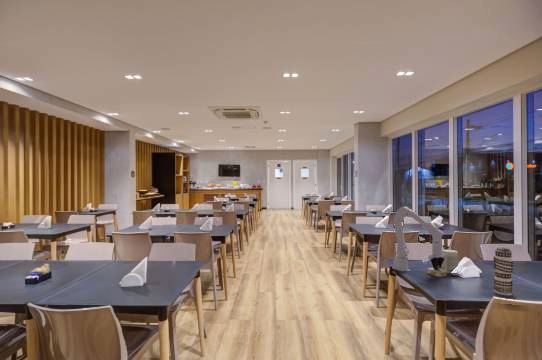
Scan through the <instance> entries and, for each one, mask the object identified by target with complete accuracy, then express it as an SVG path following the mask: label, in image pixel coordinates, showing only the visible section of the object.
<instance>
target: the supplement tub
mask: <svg viewBox="0 0 542 360" xmlns="http://www.w3.org/2000/svg"><path fill="white" fill-rule="evenodd" d="M458 252H459V251H457V250H454V249H442V254H446V257H442V258H444V261H443V263H442V265H441V267H442V268H441V269H442V270H446V271H447V274H452V273H451V272H452V271H453V270H454V269H455V268H456V267H457V266H458V267H459V253H458Z"/></svg>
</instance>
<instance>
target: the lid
mask: <svg viewBox="0 0 542 360" xmlns="http://www.w3.org/2000/svg"><path fill="white" fill-rule="evenodd" d="M426 270H427V271H428V270H430V271H434V272H437V273H444V272H447V271H446V270H442V268H441V269H440V266H439V265H437V270H435V269H433V267H427V268H426Z"/></svg>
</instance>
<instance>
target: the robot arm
mask: <svg viewBox="0 0 542 360" xmlns="http://www.w3.org/2000/svg"><path fill="white" fill-rule="evenodd" d="M405 217H409V218H412V219H413V220H415V221H416V222H418V223H419V224H420V225H421V227H422V229H423V230H424V231H426V232H427V233H428V234H430V235H431V237H432V243H431V244H432V248H431V249H432V252H431V254H430V255H428V256H427V258H428V259H429V261H430V263H431V265H432V268H433V269H435V270H437V265H439V266H440V269H442V268H441V267H442V263H443V261H444V258H442V257H446V254H442V250H443V234H444V233H443V231H441V229H439V228H438V227H436V226H434V225H433V223H432V222H430V221H426V220H424V219H423V218H422V217H421V216H419V214H418V213H416V211H414V210H413V209H411V208H410V207H409V206H406V205H405V206H401V207H399V208H398V209H397V210H396V212H395V213H394V216H393V223H394V230H395V235H396V242H397V244H396V245H397V246H396V248H397V249H396V255H395V256H394V257H393V261H392V262H393V263H392V265H393V266H392V269H393V270H396V271H399V272H410V271H411V269H409V256H408V254H409V253H410V251H409V248H408V247H407V243H406V241H405V234H404V227H403V222H402V221H403V219H404V218H405Z"/></svg>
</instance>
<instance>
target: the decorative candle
mask: <svg viewBox="0 0 542 360" xmlns="http://www.w3.org/2000/svg"><path fill="white" fill-rule="evenodd" d="M494 253H495V254H494V256H493V268H494V269H493V271H494V278H493V292H494V293H496V294H497V295H503V296H512V295H513V278H512V274H513V273H514V272H513V270H514V269H513V267H514V261H512V260H513V256H512V255H513V251H512V250H511V248H509V247H502V246H498V247H497V248H496V249H495V248H494Z"/></svg>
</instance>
